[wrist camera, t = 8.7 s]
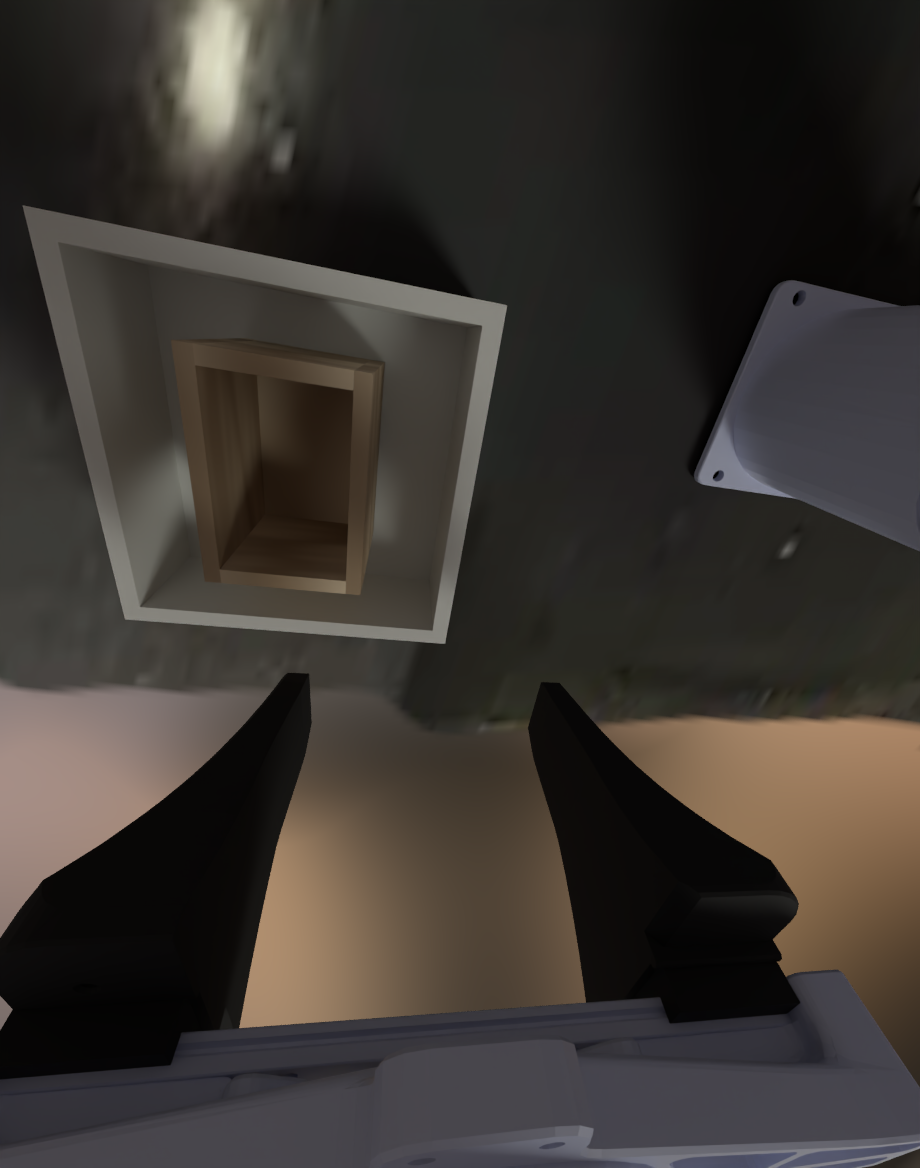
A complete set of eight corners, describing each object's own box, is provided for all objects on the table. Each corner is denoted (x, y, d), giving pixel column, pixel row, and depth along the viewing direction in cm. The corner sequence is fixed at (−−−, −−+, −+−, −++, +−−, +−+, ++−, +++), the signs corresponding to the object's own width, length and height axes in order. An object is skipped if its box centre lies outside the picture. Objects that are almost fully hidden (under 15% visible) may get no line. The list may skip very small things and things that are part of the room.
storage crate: (483, 313, 17) (507, 305, 12) (438, 584, 22) (445, 643, 18) (137, 243, 15) (22, 205, 10) (186, 559, 20) (125, 619, 16)
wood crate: (384, 362, 16) (372, 373, 12) (373, 532, 20) (360, 594, 15) (244, 338, 16) (170, 339, 11) (257, 519, 19) (204, 581, 14)
